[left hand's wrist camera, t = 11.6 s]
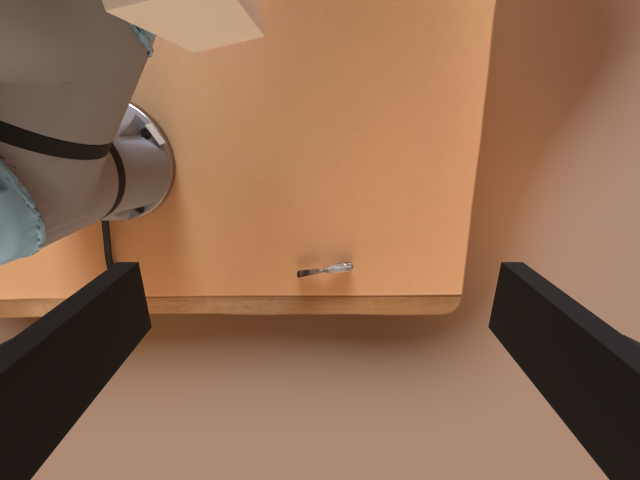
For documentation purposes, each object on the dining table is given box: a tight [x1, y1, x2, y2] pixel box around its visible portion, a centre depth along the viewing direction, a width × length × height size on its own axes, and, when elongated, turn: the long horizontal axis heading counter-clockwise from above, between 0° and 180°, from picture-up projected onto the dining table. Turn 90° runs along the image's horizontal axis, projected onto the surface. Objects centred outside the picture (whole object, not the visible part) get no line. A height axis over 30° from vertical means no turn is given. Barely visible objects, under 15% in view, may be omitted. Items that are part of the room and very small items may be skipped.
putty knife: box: [297, 263, 353, 277], centre depth 48 cm, size 1×8×2 cm, turn 100°
